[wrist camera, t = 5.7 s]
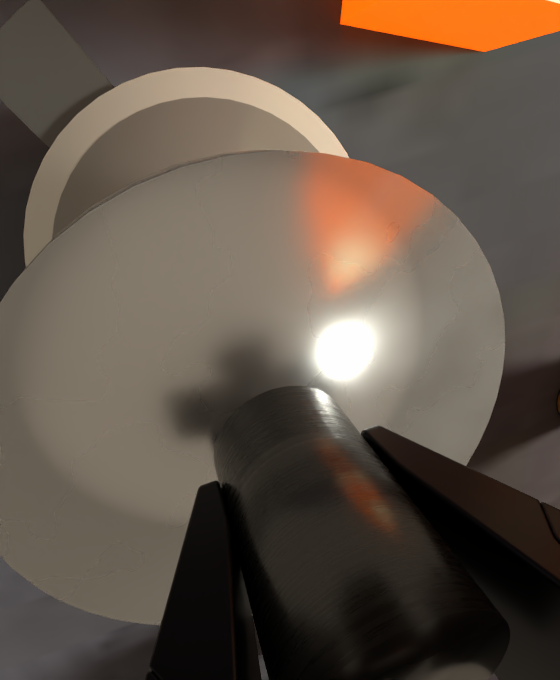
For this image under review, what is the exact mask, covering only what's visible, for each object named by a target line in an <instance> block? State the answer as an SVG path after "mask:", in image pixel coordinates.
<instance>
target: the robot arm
mask: <svg viewBox="0 0 560 680" xmlns="http://www.w3.org/2000/svg"><path fill="white" fill-rule="evenodd" d="M361 435H362V436H363V437H364V439H365V440H366V441H367V443H368V444H369V445H370V446H371V448H372V449H373V450H374V452H375V453H376V454H377V455H378V457H379V458H380V459H381V461H382V462H383V463H384V464H385V466H386V467H387V468H388V470H389V471H390V472H391V473H392V475H393V476H394V477H395V479H396V480H397V481H398V482H399V484H400V485H401V486H402V488H403V489H404V490H405V491H406V493H407V494H408V495H409V497H410V498H411V499H412V500H413V502H414V503H415V504H416V506H417V507H418V508H419V509H420V511H421V512H422V513H423V515H424V516H425V517H426V519H427V520H428V521H429V522H430V524H431V525H432V526H433V528H434V529H435V530H436V531H437V533H438V534H439V535H440V537H441V538H442V539H443V540H444V542H445V543H446V544H447V546H448V547H449V548H450V549H451V551H452V552H453V553H454V555H455V556H456V557H457V558H458V560H459V561H460V562H461V564H462V565H463V566H464V567H465V569H466V570H467V571H468V573H469V574H470V575H471V576H472V578H473V579H474V580H475V582H476V583H477V584H478V585H479V587H480V588H481V589H482V591H483V592H484V593H485V594H486V596H487V597H488V598H489V600H490V601H491V602H492V603H493V605H494V606H495V607H496V609H497V610H498V611H499V612H500V614H501V615H502V616H503V618H504V619H505V620H506V621H507V623H508V625H509V628H510V641H509V645H508V648H507V651H506V653H505V655H504V657H503V659H502V661H501V662H500V664H499V666H498V667H497V669H496V670H495V671H494V673H495V675H496V676H497V678H498V679H499V680H560V510H559V509H557V508H555V507H552V506H550V505H548V504H546V503H544V502H541V503H540V502H539V500H537V499H535V498H533V497H531V496H529V495H527V494H524V493H522V492H520V491H518V490H516V489H514V488H512V487H510V486H507V485H505V484H503V483H501V482H499V481H497V480H495V479H493V478H490V477H488V476H486V475H484V474H482V473H480V472H478V471H476V470H473V469H471V468H469V467H467V466H465V465H463V464H461V463H459V462H456V461H454V460H452V459H450V458H448V457H446V456H444V455H441V454H439V453H437V452H435V451H433V450H431V449H429V448H427V447H424V446H422V445H420V444H418V443H416V442H414V441H412V440H410V439H407V438H405V437H403V436H401V435H399V434H397V433H395V432H393V431H390V430H388V429H386V428H384V427H382V426H379V425H375V426H372V427H369V428H367V429H364V430H362V431H361ZM149 669H150V671H149V672H148V673H147V675H146V678H145V680H261V673H260V666H259V659H258V652H257V645H256V639H255V632H254V625H253V618H252V611H251V607H250V603H249V599H248V595H247V591H246V587H245V583H244V579H243V575H242V572H241V568H240V564H239V559H238V555H237V550H236V546H235V541H234V537H233V533H232V529H231V525H230V521H229V518H228V514H227V510H226V506H225V502H224V498H223V494H222V490H221V487H220V483H219V482H218V481H212V482H209V483H206V484H204V485H201V486H200V487H199V488H198V491H197V494H196V498H195V501H194V505H193V509H192V512H191V516H190V519H189V523H188V527H187V530H186V534H185V538H184V541H183V545H182V548H181V552H180V556H179V559H178V563H177V567H176V570H175V574H174V577H173V581H172V585H171V588H170V592H169V596H168V599H167V603H166V606H165V610H164V614H163V617H162V621H161V625H160V628H159V632H158V636H157V639H156V643H155V646H154V650H153V654H152V657H151V661H150V665H149Z"/></svg>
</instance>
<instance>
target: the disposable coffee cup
mask: <svg viewBox="0 0 560 680" xmlns="http://www.w3.org/2000/svg"><path fill="white" fill-rule="evenodd" d="M557 406H558V411H559V414H560V393H559V396H558V402H557Z"/></svg>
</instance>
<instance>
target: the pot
mask: <svg viewBox="0 0 560 680" xmlns="http://www.w3.org/2000/svg"><path fill="white" fill-rule="evenodd" d="M0 100H1V101H2V102H3V103H4V104H5V105H6V106H7V107H8V108H9V109H10V110H11V111H12V112H13V113H14V114H15V115H16V116H17V117H18V118H19V119H20V120H21V121H22V122H23V123H24V124H25V125H26V126H27V127H28V128H29V129H30V130H31V131H32V132H33V133H34V134H35V135H36V136H37V137H38V138H39V139H40V140H41V141H42V142H43V143H44V144H45V145H46V146H48V147H49V148H50V149H49V150H48V152H47V153H46V155H45V157H44V158H43V160H42V163H41V165H40V167H39V170H38V172H37V174H36V177H35V179H34V181H33V184H32V188H31V191H30V195H29V199H28V203H27V207H26V214H25V224H24V234H23V237H24V255H25V264H26V267H27V266H28V265H29V264H30V262H31V261H32V260H33V259H34V258H35V257H36V256H37V255H38V254H39V253H40V252H41V250H42V249H43V248H44V247H45V246H46V245H47V244H48V243H49V242H50V241H51V240H52V239H53V237H54V236H55V235H56V234H57V233H59V232H60V231H61V230H62V229H64V228H65V227H66V226H67V225H68V224H70V223H71V222H72V221H73V220H75V219H76V218H77V217H78V216H80V215H81V214H82V213H83V212H85V211H86V210H87V209H88V208H90V207H91V206H92V205H94V204H95V203H97V202H99V201H100V200H102V199H104V198H106V197H107V196H109V195H111V194H112V193H114V192H116V191H118V190H119V189H121V188H123V187H124V186H126V185H128V184H130V183H131V182H133V181H135V180H138V179H140V178H143V177H145V176H148V175H150V174H153V173H155V172H158V171H160V170H163V169H165V168H168V167H170V166H172V165H175V164H178V163H182V162H186V161H190V160H194V159H199V158H203V157H207V156H211V155H215V154H219V153H227V152H238V151H249V150H260V149H270V150H287V151H304V152H317V153H327V154H332V155H336V156H341V157H345V158H349V157H348V155H347V153H346V151H345V150H344V148H343V147H342V145H341V144H340V143H339V141H338V140H337V138H336V137H335V135H334V134H333V133H332V132H331V130H330V129H329V128H328V127H327V126H326V125H325V124H324V123H323V122H322V120H321V119H320V118H319V117H318V116H317V115H316V114H315V113H313V112H312V111H311V110H310V109H309V108H307V107H306V106H305V105H304V104H303V103H302V102H300V101H299V100H297V99H296V98H294V97H293V96H291V95H290V94H288V93H286V92H285V91H283V90H282V89H280V88H278V87H276V86H274V85H272V84H269V83H267V82H265V81H263V80H260V79H258V78H256V77H253V76H249V75H245V74H242V73H238V72H235V71H231V70H224V69H215V68H207V67H191V68H174V69H169V70H164V71H159V72H154V73H149V74H146V75H143V76H141V77H138V78H135V79H133V80H130V81H127V82H124V83H122V84H120V85H119V86H117V87H115V88H114V86H113V85H112V84H111V83H110V82H109V81H108V79H107V78H106V77H105V76H104V75H103V73H102V72H101V71H100V70H99V69H98V67H97V66H96V65H95V64H94V63H93V62H92V60H91V59H90V58H89V57H88V56H87V54H86V53H85V52H84V51H83V50H82V48H81V47H80V46H79V45H78V44H77V42H76V41H75V40H74V39H73V38H72V37H71V35H70V34H69V33H68V32H67V31H66V29H65V28H64V27H63V26H62V25H61V23H60V22H59V21H58V20H57V19H56V18H55V16H54V15H53V14H52V13H51V12H50V10H49V9H48V8H47V7H46V6H45V4H44V3H43V2H42V1H41V0H28V1H27V2H26V3H25V4H24V5H23V6H22V7H21V8H20V9H19V10H18V11H17V12H16V13H15V14H14V15H13V16H12V17H11V18H10V19H9V20H8V21H7V22H6V23H5V24H4V25H3V26H1V27H0Z"/></svg>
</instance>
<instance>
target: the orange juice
mask: <svg viewBox="0 0 560 680" xmlns="http://www.w3.org/2000/svg"><path fill="white" fill-rule="evenodd" d="M340 24H343V25H348V26H353V27H358V28H363V29H368V30H374V31H379V32H384V33H389V34H394V35H400V36H405V37H410V38H415V39H420V40H425V41H431V42H436V43H441V44H446V45H451V46H456V47H462V48H467V49H472V50H477V51H482V52H486V51H489V50H493V49H496V48H500V47H503V46H507V45H510V44H514V43H517V42H521V41H525V40H528V39H532V38H535V37H539V36H542V35H546V34H549V33H553V32H556V31H560V0H343V2H342V11H341V21H340Z"/></svg>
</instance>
